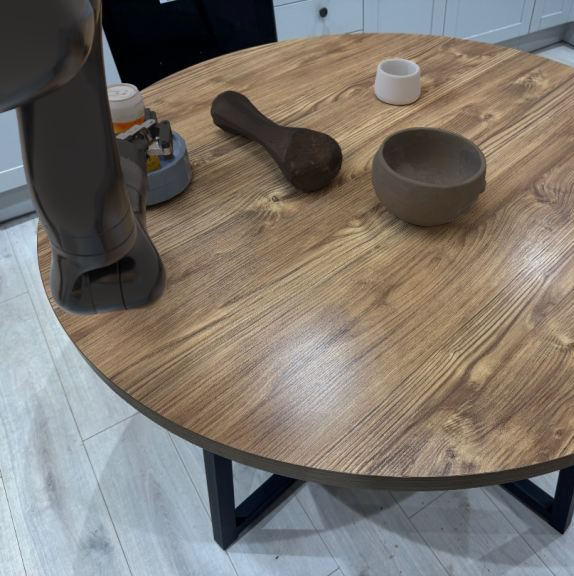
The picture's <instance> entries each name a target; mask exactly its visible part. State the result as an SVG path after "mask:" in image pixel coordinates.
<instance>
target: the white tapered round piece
mask: <svg viewBox="0 0 574 576" xmlns="http://www.w3.org/2000/svg"><path fill="white" fill-rule="evenodd" d="M373 89H374V90H373V91H374V95H375V96H376V98H377V99H378V100H380V101H382V102H383V103H385V104H390V105H396V106H402V105H403V106H405V105H409V104H413V103H414V102H416V101H417V100H418V99H419V98H420V96H421V91H422V87H421V68H420V66H419V65H418V63H416V62H414V61H413V60H410V59H406V58H389V59H385V60H382V61H381V62H379V63H378V65H377V69H376V75H375V81H374V88H373Z"/></svg>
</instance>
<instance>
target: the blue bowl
mask: <svg viewBox="0 0 574 576" xmlns="http://www.w3.org/2000/svg"><path fill="white" fill-rule="evenodd" d="M171 130H172V134H173V158H172V159H170V160H164V159H163V155H158V157H159V161H160V164H161V169H160V170H157V171H153V172H150V173H147V184H148V186H149V192H148V200H147V205H146V207H147V206H152V205H156V204H159V203H162V202H165V201H168V200H171V199H172V198H174V197H176V196H178V195H179V194H181V193H182V192H183V191H184V190H185V189H186V188H187V187H188V186H189V185H190V183H191V181H192V177H193V170H192V167H191V162H190V157H189V152H188V148H187V143H186V140H185V138H183V136H182V135H181V134H179V132H177V131H175V130H173V129H171Z"/></svg>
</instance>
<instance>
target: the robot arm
mask: <svg viewBox="0 0 574 576" xmlns="http://www.w3.org/2000/svg"><path fill="white" fill-rule="evenodd" d="M103 42H104V41H103V0H0V115H1V114H4V113H7V112H9V111H13V110H15V115H16V122H17V123H16V124H17V130H18V137H19V146H20V153H21V160H22V168H23V173H24V177H25V182H26V186H27V191H28V194H29V198H30V200H31V203H32V207H33V208H34V211H35V213H36V216H37V217H38V221H40V224H41V226H42V228H43V230H44V232H45V235H46V236H47V239H48V242H49V245H50V250H51V260H50V267H49V280H48V281H49V290H50V294H51V297H52V300H53V301H54V303H55V304H56V306H58V307H59V308H60V309H61V310H63V311H64V312H66V313H68V314H71V315H74V316H92V315H93V316H94V315H102V314H113V313H121V312H128V311H129V312H132V311H141V310H146V309H149V308H152V307H154V306H155V305H157V304H158V303H159V302H160V301H161V300H162V298H163V297H164V296H165V293H166V291H167V288H168V287H167V286H168V274H167V269H166V266H165V263H164V259H163V258H162V255H161V253H160V252H159V250H158V248H157V246H156V244H155V242H154V241H153V240H152V237H151V236H150V233H149V231H148V225H147V206H148V205H147V200H148V192H149V186H148V184H147V161H148V159H149V158H150V156H153V155H163V159H164V160H170V159H172V158H173V134H172V130H173V129H172V126H171V123H170V120H166V119H164V120H161V121H160V122H159V121H158V117H157V116H158V115H157V113H156V111H155V110H151V108H150V107H145V108H144V120H145V122H144V123H143V124H141V125H137V124H136V125H134V126H133V127H131V128H130V129H129V130H127V131H126V132H119V133H115V131H114V126H113V121H112V116H111V110H110V104H109V98H108V91H107V86H108V83H107V76H106V65H105V55H104V43H103ZM147 132H148V134H147ZM136 136H137V137H136ZM153 142H154V144H153V145H151V144H152V143H153ZM146 205H147V206H146Z"/></svg>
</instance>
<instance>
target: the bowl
mask: <svg viewBox="0 0 574 576" xmlns="http://www.w3.org/2000/svg"><path fill="white" fill-rule="evenodd" d="M370 175H371V184H372V187H373V190H374V193H375V195H376V197H377V198H378V200H379V201H380V203H381V204H382V205H383V206H384V208H386V210H388V211H389V213H391V214H392V215H393V216H395V217H396V218H398V219H400V220H401V221H403V222H407V223H409V224H412V225H416V226H419V227H420V226H422V227H433V226H440V225H444V224H447V223H450V222H454V221H457V220H458V219H460V218H461V217H463V216H464V215H465V214H467V213H469V212H470V210H471V209H472V208H473V207H474V205H475V204H476V202H477V201H478V199H479V197H480V195H481V194H484V192H485V190H486V186H487V184H488V183H487V179H486V175H487V159H486V156H485V153H484V152H483V150H482V149H481V148H480V147H479V145H477V144H476V143H475V142H474V141H473V140H471V139H469V138H467V137H465V136H463V135H461V134H459V133H458V132H453V131H450V130H447V129H442V128H437V127H427V126H425V127H424V126H414V127H406V128H402V129H399V130H397V131H395V132H393V133H391V134H389V135H388V136H386V137H385V138H384V140H383V141H382V142H381V144H380V145H379V147H378V149H377V150H376V151H375V154H374V156H373V158H372V161H371V173H370Z"/></svg>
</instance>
